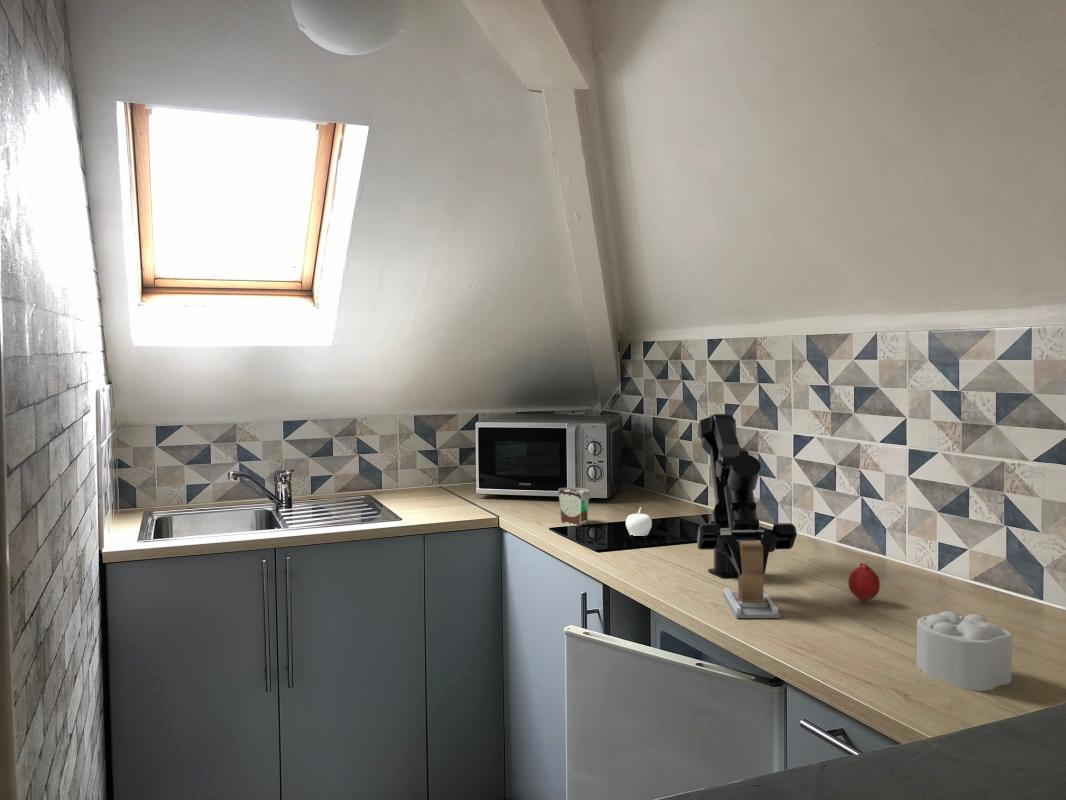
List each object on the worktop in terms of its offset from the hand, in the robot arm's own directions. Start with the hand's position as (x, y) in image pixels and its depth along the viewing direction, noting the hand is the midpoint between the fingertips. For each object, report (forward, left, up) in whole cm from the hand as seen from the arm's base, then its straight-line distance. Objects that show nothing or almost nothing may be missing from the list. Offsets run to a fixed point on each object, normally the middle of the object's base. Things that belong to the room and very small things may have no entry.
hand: (752, 574), depth 164 cm
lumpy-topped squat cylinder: (+39, +11, -7) cm, 41 cm away
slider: (-2, +1, -7) cm, 7 cm away
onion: (+4, +23, -7) cm, 25 cm away
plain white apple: (-68, +9, -7) cm, 69 cm away
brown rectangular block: (-1, +1, -7) cm, 7 cm away
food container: (-92, +1, -7) cm, 93 cm away
